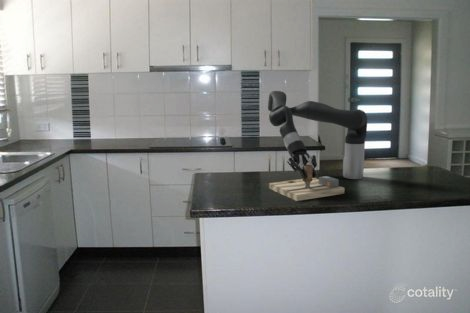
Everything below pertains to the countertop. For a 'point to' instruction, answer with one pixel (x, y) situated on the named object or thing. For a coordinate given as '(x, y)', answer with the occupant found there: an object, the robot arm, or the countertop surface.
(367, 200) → the countertop surface
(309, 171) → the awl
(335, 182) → the block
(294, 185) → the board
